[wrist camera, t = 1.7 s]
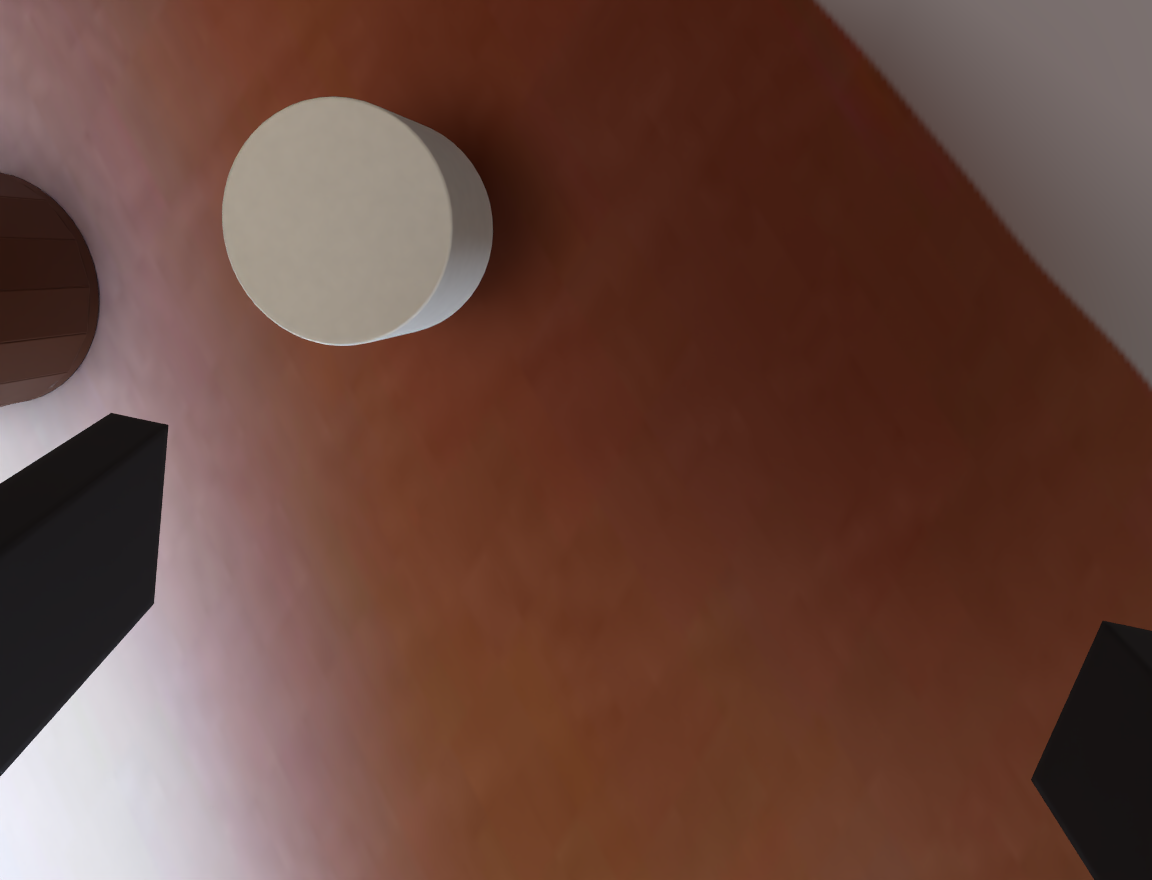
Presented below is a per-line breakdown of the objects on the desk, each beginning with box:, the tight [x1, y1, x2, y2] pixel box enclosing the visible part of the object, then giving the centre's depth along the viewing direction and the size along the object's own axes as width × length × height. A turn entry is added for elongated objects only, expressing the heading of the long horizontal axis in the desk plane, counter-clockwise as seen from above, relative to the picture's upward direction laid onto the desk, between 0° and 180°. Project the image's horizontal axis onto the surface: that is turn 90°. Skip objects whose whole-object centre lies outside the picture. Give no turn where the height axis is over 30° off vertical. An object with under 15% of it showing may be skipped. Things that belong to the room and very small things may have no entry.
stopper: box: [222, 97, 493, 346], centre depth 31 cm, size 7×7×9 cm
